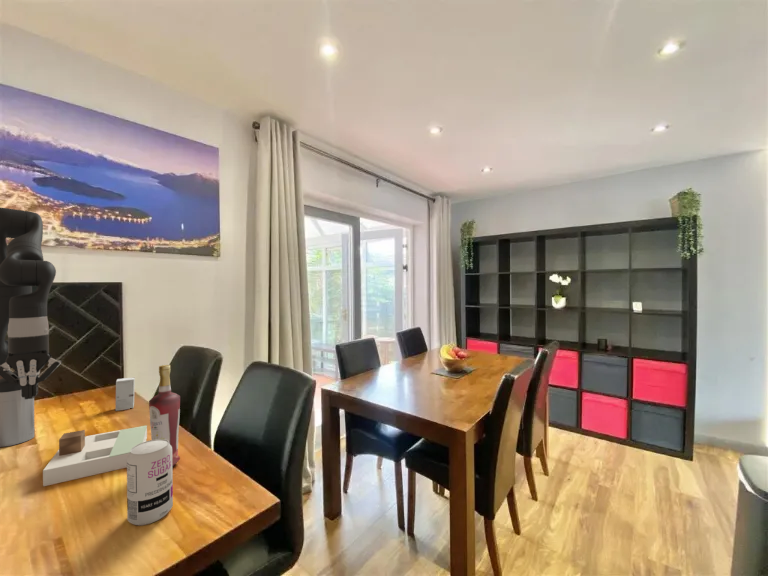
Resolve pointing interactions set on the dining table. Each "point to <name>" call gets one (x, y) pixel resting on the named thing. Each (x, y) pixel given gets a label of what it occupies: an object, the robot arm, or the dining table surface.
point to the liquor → (165, 413)
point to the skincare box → (125, 393)
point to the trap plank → (95, 456)
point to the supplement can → (149, 481)
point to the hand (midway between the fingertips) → (29, 398)
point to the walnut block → (71, 442)
